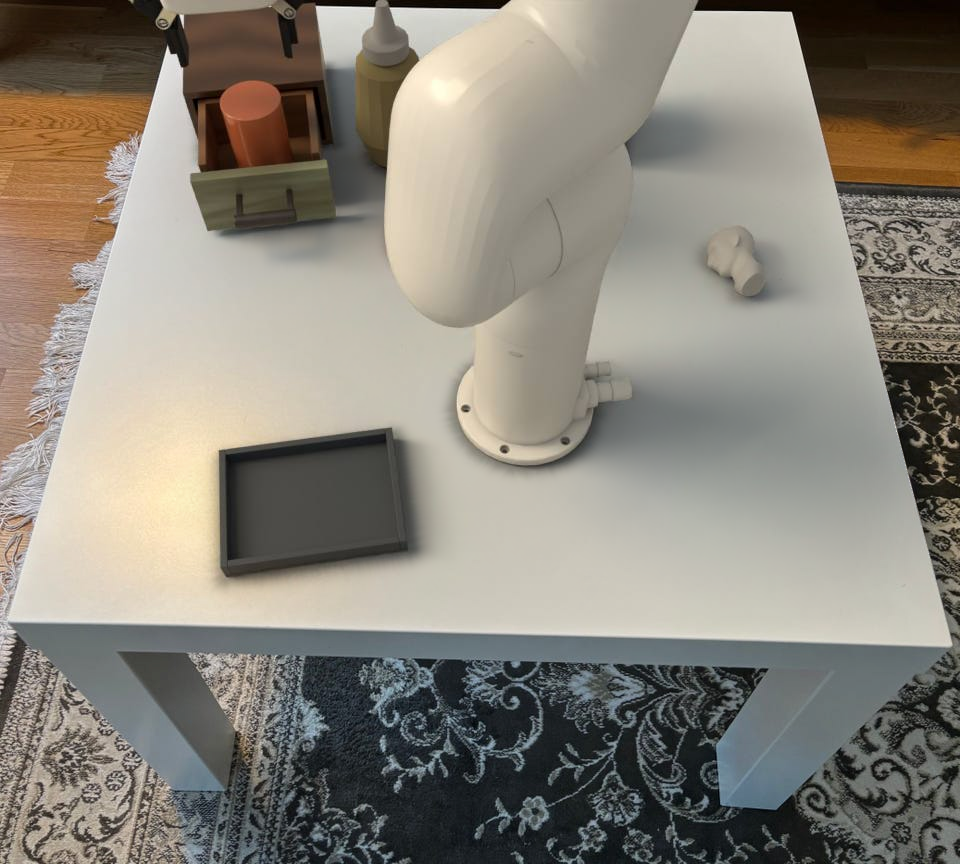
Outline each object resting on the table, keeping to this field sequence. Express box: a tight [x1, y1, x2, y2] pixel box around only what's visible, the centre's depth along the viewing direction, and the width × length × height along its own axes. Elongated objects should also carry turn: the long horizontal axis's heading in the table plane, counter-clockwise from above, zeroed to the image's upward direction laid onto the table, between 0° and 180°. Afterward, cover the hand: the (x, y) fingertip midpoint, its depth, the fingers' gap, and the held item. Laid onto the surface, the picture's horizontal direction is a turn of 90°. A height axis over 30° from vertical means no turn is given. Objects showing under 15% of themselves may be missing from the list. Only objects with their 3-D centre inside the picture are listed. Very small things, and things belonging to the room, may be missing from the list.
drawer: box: [189, 88, 337, 232], centre depth 92 cm, size 17×13×7 cm
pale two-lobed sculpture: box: [706, 225, 767, 297], centre depth 90 cm, size 4×8×5 cm
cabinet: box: [182, 2, 335, 147], centre depth 100 cm, size 14×15×9 cm
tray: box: [218, 426, 409, 578], centre depth 76 cm, size 15×11×2 cm
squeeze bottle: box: [354, 0, 420, 169], centre depth 92 cm, size 8×8×18 cm
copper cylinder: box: [220, 81, 295, 168], centre depth 92 cm, size 6×6×9 cm
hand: (237, 53), depth 84 cm, fingers open, 9 cm apart
